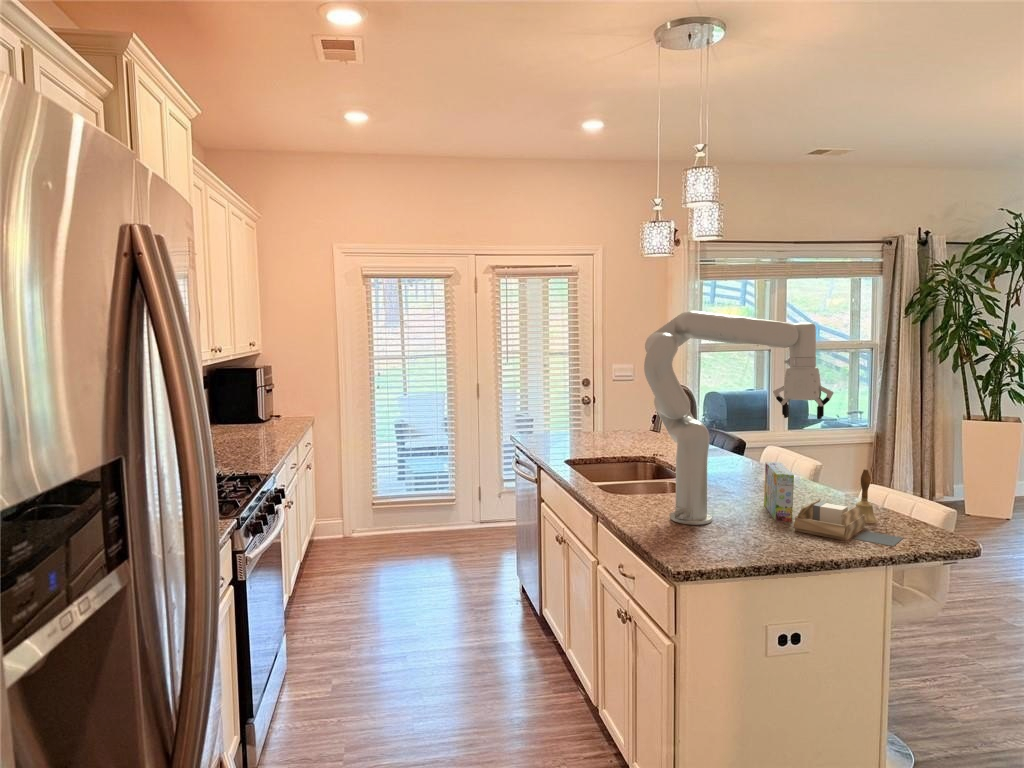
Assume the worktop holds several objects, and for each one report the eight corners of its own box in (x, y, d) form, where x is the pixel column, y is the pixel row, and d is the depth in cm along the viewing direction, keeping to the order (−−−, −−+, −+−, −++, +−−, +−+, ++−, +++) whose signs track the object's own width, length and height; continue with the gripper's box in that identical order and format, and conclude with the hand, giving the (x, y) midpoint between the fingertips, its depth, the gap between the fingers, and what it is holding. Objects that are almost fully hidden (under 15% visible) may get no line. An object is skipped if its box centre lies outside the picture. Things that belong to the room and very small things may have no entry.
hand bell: (849, 515, 210) (851, 466, 209) (879, 519, 206) (881, 468, 204) (847, 522, 203) (849, 471, 202) (878, 526, 198) (880, 473, 197)
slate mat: (893, 548, 178) (893, 546, 178) (853, 540, 185) (853, 538, 185) (903, 539, 185) (903, 537, 185) (864, 532, 192) (864, 530, 192)
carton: (843, 543, 182) (844, 517, 182) (792, 533, 192) (792, 509, 191) (866, 528, 196) (866, 504, 196) (817, 519, 206) (817, 496, 205)
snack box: (794, 523, 203) (795, 474, 202) (774, 522, 204) (775, 474, 203) (780, 505, 224) (781, 461, 222) (762, 505, 225) (763, 461, 224)
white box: (841, 534, 189) (841, 509, 189) (812, 528, 195) (812, 505, 194) (847, 530, 193) (847, 506, 193) (818, 524, 199) (819, 501, 198)
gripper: (770, 363, 206) (770, 418, 207) (830, 363, 196) (830, 421, 197) (776, 362, 212) (776, 415, 213) (835, 362, 202) (835, 418, 203)
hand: (802, 418), depth 205 cm, fingers open, 9 cm apart
